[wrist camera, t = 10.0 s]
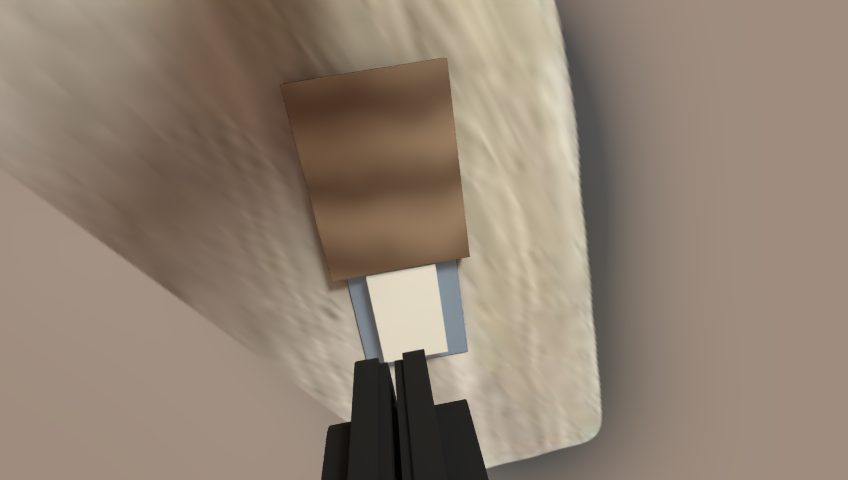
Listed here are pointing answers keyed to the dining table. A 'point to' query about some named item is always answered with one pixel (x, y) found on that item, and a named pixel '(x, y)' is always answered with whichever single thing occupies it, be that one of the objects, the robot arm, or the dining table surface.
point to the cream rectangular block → (408, 311)
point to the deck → (381, 166)
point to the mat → (449, 303)
